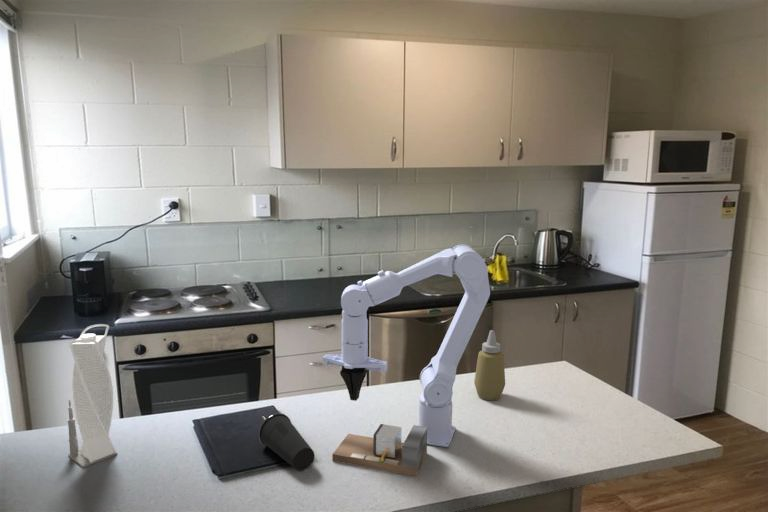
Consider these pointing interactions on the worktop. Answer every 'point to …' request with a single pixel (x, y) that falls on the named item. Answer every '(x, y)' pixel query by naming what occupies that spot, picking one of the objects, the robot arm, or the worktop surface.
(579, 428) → the worktop surface
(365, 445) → the gauge board
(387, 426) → the gauge carriage
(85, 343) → the skyscraper
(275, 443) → the drinking cup
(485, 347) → the squeeze bottle
